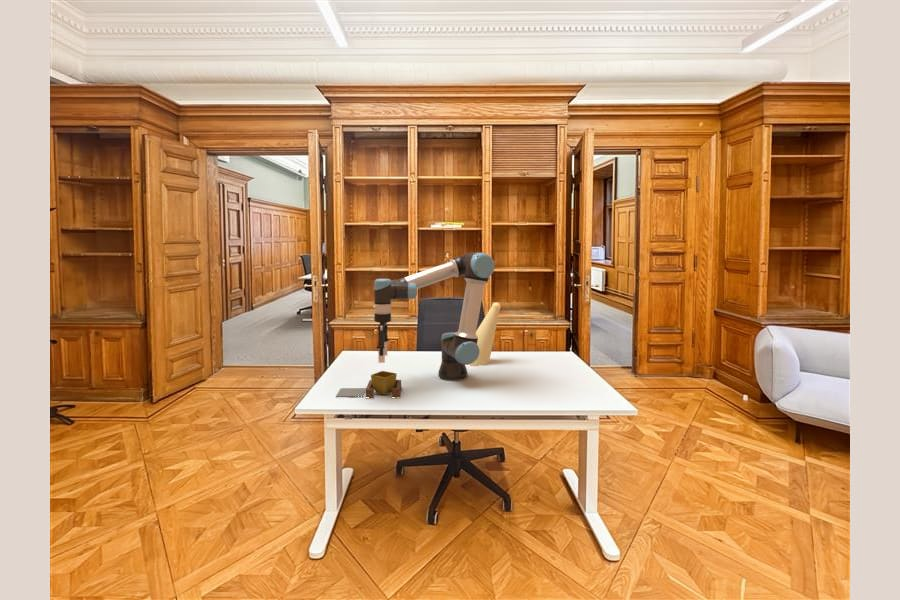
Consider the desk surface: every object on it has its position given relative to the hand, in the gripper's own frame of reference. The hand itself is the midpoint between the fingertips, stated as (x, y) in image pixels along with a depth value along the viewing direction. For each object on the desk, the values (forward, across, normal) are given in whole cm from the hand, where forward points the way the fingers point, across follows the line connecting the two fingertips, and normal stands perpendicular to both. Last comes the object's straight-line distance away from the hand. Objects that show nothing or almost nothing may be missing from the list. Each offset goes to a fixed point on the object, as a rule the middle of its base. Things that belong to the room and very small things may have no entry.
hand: (383, 358), depth 229 cm
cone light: (+16, -55, +49) cm, 76 cm away
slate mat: (+16, 0, -15) cm, 22 cm away
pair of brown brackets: (+16, 0, 0) cm, 16 cm away
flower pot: (+16, 0, 0) cm, 16 cm away
